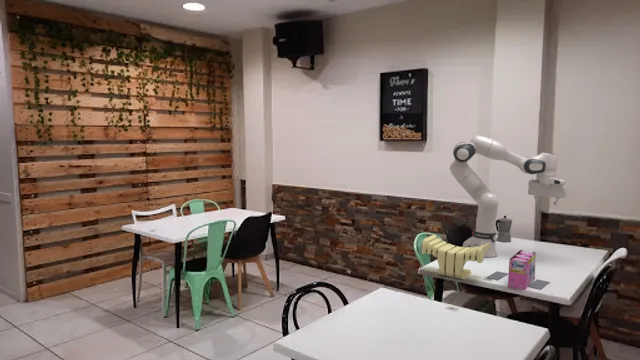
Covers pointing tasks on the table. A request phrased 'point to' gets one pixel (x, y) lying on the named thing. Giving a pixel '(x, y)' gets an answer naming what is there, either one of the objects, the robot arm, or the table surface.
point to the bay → (536, 284)
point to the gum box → (521, 269)
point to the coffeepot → (504, 229)
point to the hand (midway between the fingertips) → (546, 204)
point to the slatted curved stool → (453, 256)
